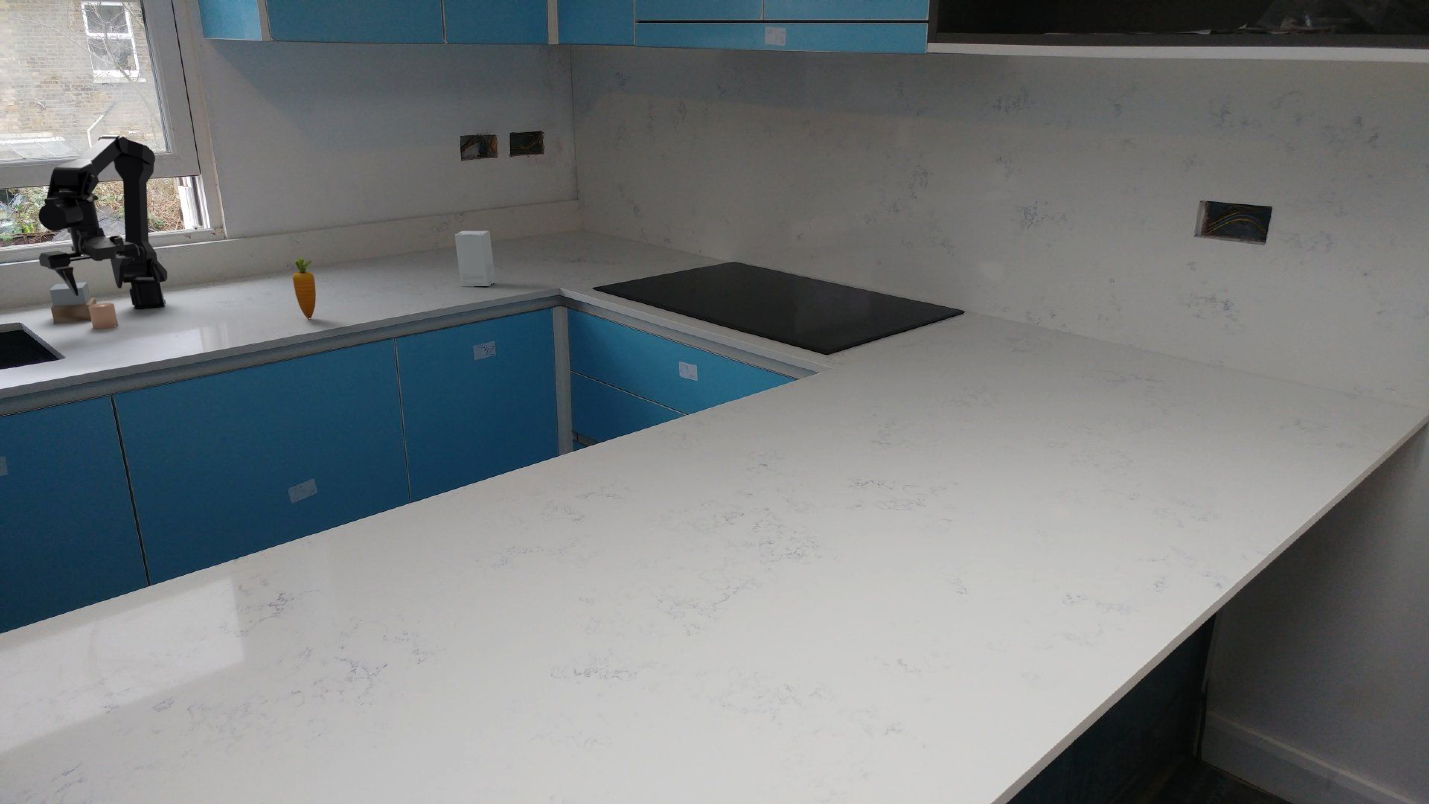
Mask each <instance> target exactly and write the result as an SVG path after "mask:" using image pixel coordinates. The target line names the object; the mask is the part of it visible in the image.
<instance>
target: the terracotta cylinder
mask: <svg viewBox="0 0 1429 804" xmlns="http://www.w3.org/2000/svg"><path fill="white" fill-rule="evenodd" d="M88 307H89V312H90V316H91V320H90V321H91V324H92V328H93V329H95V330H107V329H112V327H113V328H115V327H114V326H116V327H118V326H119V323H118V318H117V313H116V308H115V304H114V303H112V302H99V303H97V304H93V305H90V306H88Z"/></svg>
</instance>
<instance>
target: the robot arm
mask: <svg viewBox="0 0 1429 804" xmlns="http://www.w3.org/2000/svg"><path fill="white" fill-rule="evenodd" d="M155 161H156V156H155V152H154V151H153V150H152V149H151V148H150V147H149V146H148V145H146V144H143V143H141V142H140V143H139V142H136V141H133V140H131V139H128V138H126V137H125V136H123V135H118V134H113V135H112V134H110V135H109V134H103V135H101V136H99V137H98V139H97V141H96V142H95V143H94V144H93V145H92V146H91V147H89V148H88V149H87V150H86V151H85V152H84V153H83V154H81V155H80V156H79V157H77V159H74V160H71V161H66V162H63V163H61V164H59V165H56V166H55V167H54V168H53V169H52V172H51V176H50V179H49V184H48V189H47V194H46V198H44V203H45V204H44V205H43V206H41V207H40V209H39V212H38V220H39V223H40V224H41V225H42V226H43V227H44V228H45V229H47V230H49V231H52V232H58V231H63V230H67V233H69V234H70V237H71V243H72V245H71V246H70V248H71V251H72V252H70V253H69V252H68V253H67V252H64V251H60V250H54V251H47V252H40V255H39V257H38V260H39V261H38V262H39V264H40V267H45V268H47V269H49V270H52V271H55V272H56V273H57V274H58V276H59V277H60V278H61V279H62V281H63V282H64V284H67V286H68V287H69V288H70V290H71V291H72V292H73V294H74V295H75V296H78V289H77V285H76V283H77V282H76V279H75V276H74V266H70V264H71V263H72V262H75V261H77V262H78V261H84V260H89V259H90V260H93V261H95V262H102V261H104V260H110V264H111V269H112V272H113V276H114V277H113V278H114V281H115V284H116V287H117V288H118V289H122V288H123V284H129V283H130V286H131V287H129V295H130V300H131V304H132V306H134V307H133V308H134V309H135V310H137V309H138V310H139V309H150V308H161V307H163V308H164V307H165V306H166V302H167V301H166V299H165V296H164V291H163V286H162V283H163V282H164V283H165V282H167V280H168V271H167V269H166V268H165V267H164V266H163V265H162V264H161V263H160V261H158V254H157V252H156V251H155V249H154V247H153V246H152V245H151V243H150V241H149V214H148V212H149V211H148V189H147V188H148V187H147V185H148V184H147V183H148V181H149V180H150V178H151V177H152V175H153V174H154V171H155ZM111 163H114V170H115V171H116V172H117V174H118V175H119V177H120V179H121V180H122V185H123V186H122V188H123V190H122V191H123V193H122V194H123V212H124V213H123V216H124V217H123V219H124V239H123V237H122V236H121V235H120V234H116V235H111V236H108V237H107V236H106V234H105V232H104V230H103V227H100V224H99V217H98V212H97V208H96V203H95V202H96V201H99V196H97V195H96V194H94V193H93V191H94V190H95V189H96V187H97V186H98V184H99V183H100V179H99V174H100V173H102V172H103V171H104V170H105V169H106V168H107V167H108V166H109V165H110V164H111Z"/></svg>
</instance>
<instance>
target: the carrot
mask: <svg viewBox="0 0 1429 804" xmlns="http://www.w3.org/2000/svg"><path fill="white" fill-rule="evenodd" d="M294 262H295V265H296V267H297V269H298V270H299V272H295V273H294V274H293V275H292V283H293V288H294V292H295V294H294V295H295V297H296V300H297V303H298V305H299V309H300V310H301V311H302V313H303V315H304V316H305V318H306V319H308V320H310V319H312V317H313V315H314V312H315V307H316V299H317V298H316V296H317V295H316V294H317V293H316V282H315V280H316V279H315V276H314V274H313V273H312V272H311V271H306V270H307V267H308V266H309V264H311V263H312V260H310V259H309V260H307V261H306V262H305V257H299V258H297V259H296V260H295V261H294ZM304 262H305V263H304ZM309 318H310V319H309Z"/></svg>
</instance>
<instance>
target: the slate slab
mask: <svg viewBox="0 0 1429 804" xmlns="http://www.w3.org/2000/svg"><path fill="white" fill-rule="evenodd" d="M76 285H77V289H78V296H75V295H74V294H73V292H72V291H71V290H70V288H69V287H68V286H67V284H66V283H55V284H54V285H53V286H52V287H51V288H50V289H49V295H50V298H51V302H52V305H53V307H57V306H70V305H84V304H87V302H88V301H89V300H90V299H91V298H92V297H91V293H90V288H89V285H88V282H87V281H85V282H82V281H81V282H76Z"/></svg>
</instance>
